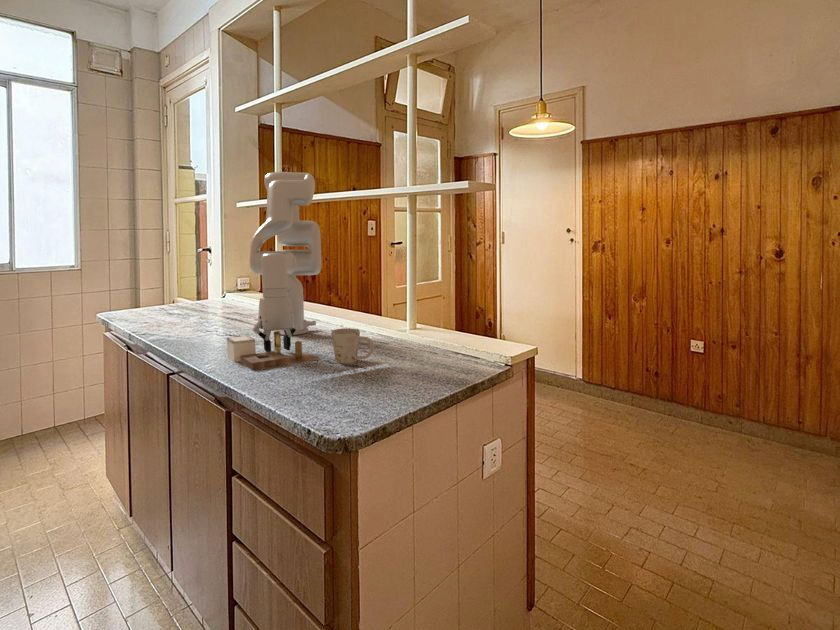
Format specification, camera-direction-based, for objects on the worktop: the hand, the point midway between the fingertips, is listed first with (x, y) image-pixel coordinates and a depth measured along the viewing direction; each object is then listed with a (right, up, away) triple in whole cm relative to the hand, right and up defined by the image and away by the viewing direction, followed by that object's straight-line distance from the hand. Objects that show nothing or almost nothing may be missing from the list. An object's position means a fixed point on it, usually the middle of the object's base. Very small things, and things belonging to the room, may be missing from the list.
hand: (277, 350), depth 162 cm
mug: (+25, -4, -7) cm, 26 cm away
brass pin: (0, -2, 0) cm, 2 cm away
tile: (+8, -3, -5) cm, 10 cm away
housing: (-9, -3, -5) cm, 11 cm away
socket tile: (-1, -4, -12) cm, 12 cm away
